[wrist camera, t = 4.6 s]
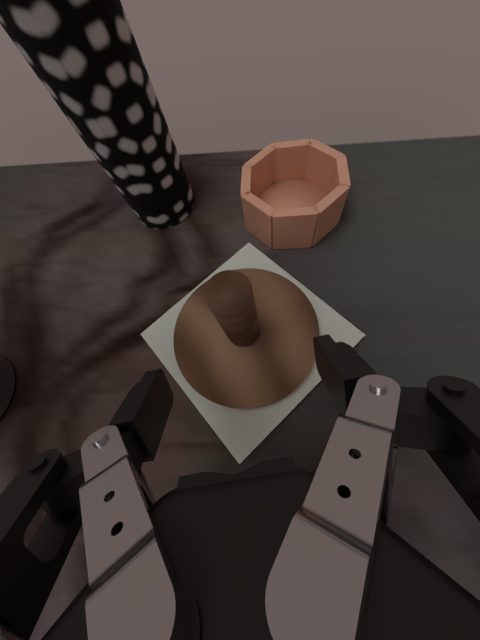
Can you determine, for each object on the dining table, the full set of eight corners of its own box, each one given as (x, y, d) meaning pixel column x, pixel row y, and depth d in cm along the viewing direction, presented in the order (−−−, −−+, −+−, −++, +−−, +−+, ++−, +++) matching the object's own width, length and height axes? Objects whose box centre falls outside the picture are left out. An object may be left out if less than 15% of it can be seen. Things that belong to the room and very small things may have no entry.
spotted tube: (162, 239, 31) (-5, -15, 13) (126, 211, 34) (-51, -30, 15) (206, 199, 32) (115, -81, 14) (169, 176, 35) (53, -82, 17)
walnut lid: (240, 445, 20) (214, 468, 12) (152, 334, 25) (90, 294, 17) (349, 334, 22) (393, 286, 14) (248, 252, 27) (235, 180, 19)
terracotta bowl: (292, 265, 27) (295, 234, 22) (229, 216, 31) (220, 182, 26) (356, 207, 28) (372, 167, 24) (288, 168, 32) (290, 128, 28)
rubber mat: (240, 462, 20) (239, 464, 20) (144, 336, 26) (140, 334, 25) (362, 337, 23) (365, 334, 22) (249, 246, 29) (248, 242, 28)
